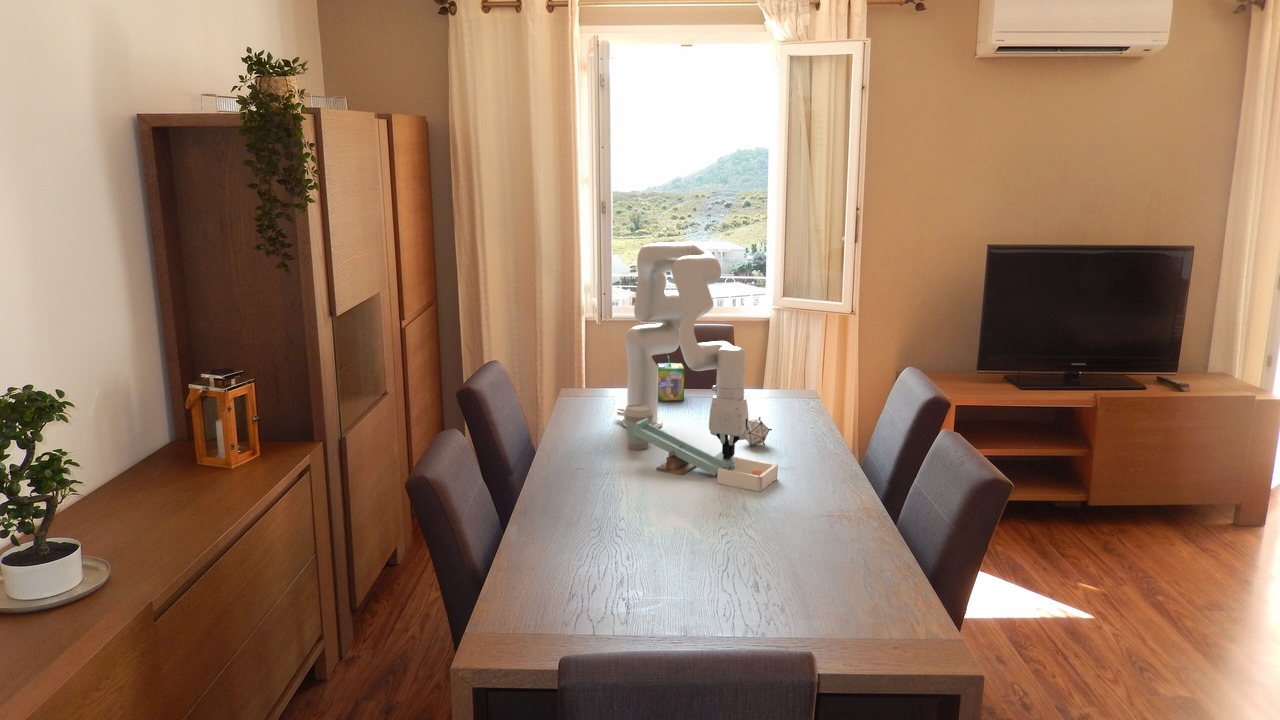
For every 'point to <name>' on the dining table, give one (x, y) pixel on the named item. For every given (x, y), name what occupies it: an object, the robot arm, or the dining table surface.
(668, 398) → the chalk box
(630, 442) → the coffee cup
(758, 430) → the game die
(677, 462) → the fulcrum
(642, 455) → the dining table surface
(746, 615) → the dining table surface
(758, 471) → the ball
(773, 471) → the tray
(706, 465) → the lever
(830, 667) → the dining table surface
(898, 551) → the dining table surface
